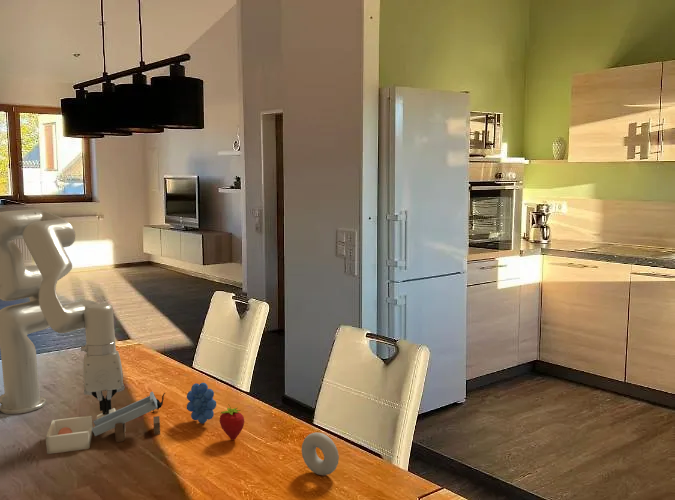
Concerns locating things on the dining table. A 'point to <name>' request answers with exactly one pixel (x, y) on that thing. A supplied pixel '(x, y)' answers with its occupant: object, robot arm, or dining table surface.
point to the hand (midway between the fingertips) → (106, 412)
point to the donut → (328, 450)
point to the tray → (69, 435)
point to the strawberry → (232, 422)
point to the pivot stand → (120, 432)
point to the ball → (65, 431)
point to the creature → (159, 403)
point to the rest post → (156, 425)
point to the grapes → (201, 402)
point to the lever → (124, 414)
